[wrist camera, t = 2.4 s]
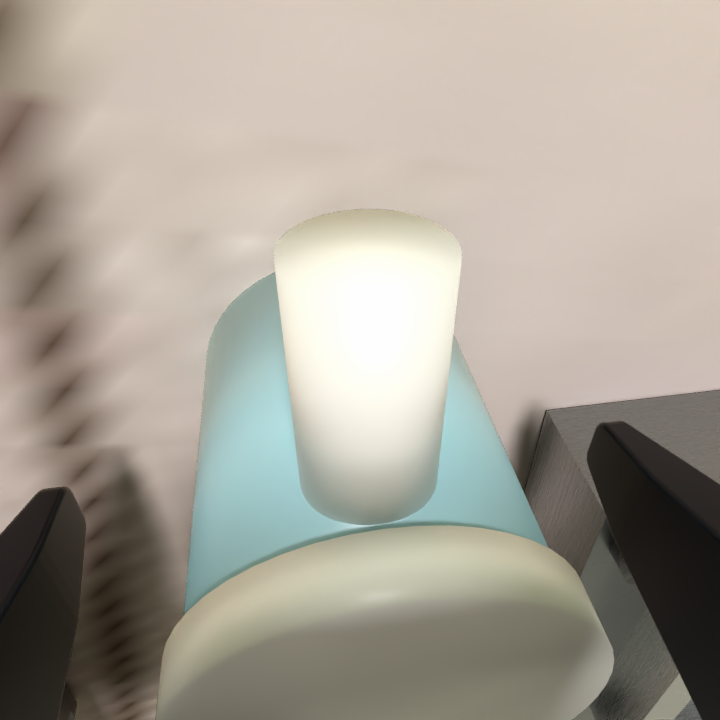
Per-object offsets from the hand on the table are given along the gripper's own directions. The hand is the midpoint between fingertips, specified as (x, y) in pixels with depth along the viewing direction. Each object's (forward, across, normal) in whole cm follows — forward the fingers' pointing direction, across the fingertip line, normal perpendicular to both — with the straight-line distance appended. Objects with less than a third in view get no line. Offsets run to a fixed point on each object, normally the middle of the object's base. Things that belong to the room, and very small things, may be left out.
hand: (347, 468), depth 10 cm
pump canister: (+3, 0, -1) cm, 3 cm away
